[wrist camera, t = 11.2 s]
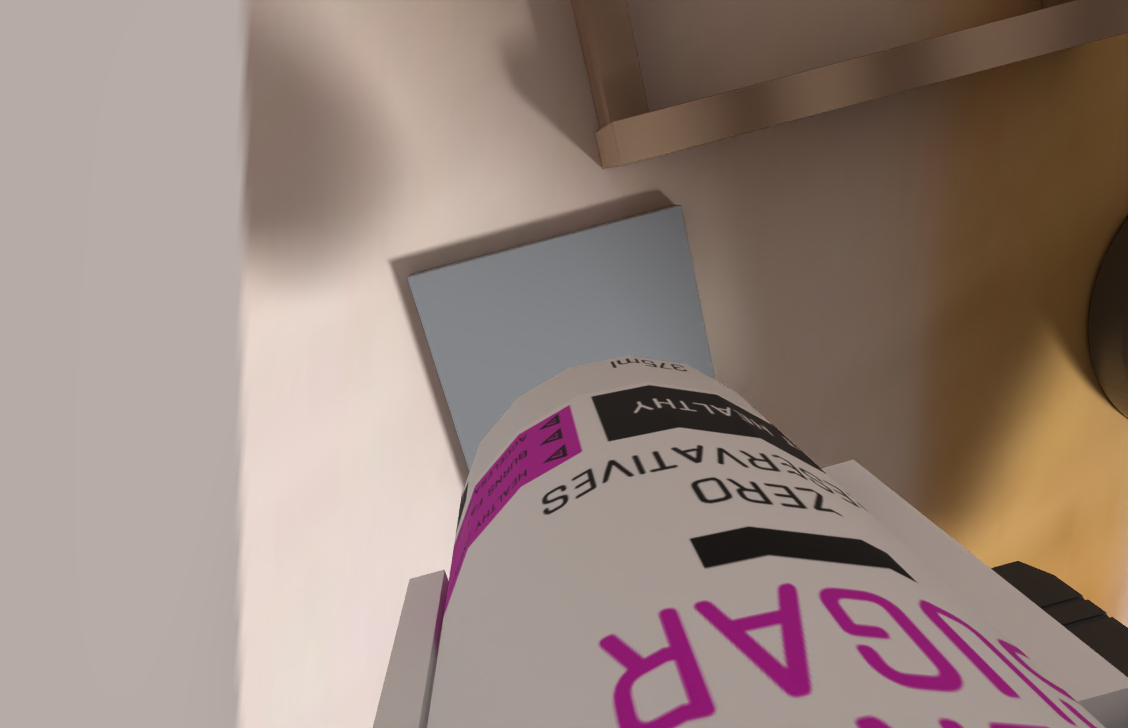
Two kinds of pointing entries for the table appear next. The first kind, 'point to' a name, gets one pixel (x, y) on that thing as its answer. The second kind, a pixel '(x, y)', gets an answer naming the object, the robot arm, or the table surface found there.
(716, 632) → the supplement can
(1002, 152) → the table surface
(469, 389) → the pad
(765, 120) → the rack
